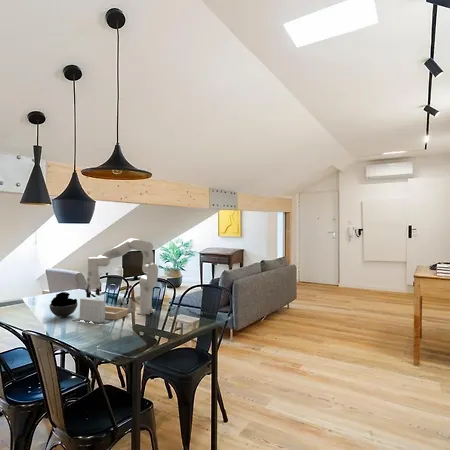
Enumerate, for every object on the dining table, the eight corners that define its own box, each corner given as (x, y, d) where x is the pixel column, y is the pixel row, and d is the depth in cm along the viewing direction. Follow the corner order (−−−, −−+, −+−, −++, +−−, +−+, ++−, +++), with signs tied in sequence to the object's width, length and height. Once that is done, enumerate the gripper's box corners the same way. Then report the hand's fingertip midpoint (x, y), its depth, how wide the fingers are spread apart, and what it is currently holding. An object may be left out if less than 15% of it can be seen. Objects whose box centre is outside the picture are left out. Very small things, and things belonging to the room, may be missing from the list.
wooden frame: (128, 314, 274) (129, 308, 274) (113, 320, 256) (114, 313, 257) (102, 311, 283) (102, 305, 283) (86, 316, 266) (86, 310, 266)
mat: (111, 321, 253) (111, 320, 253) (101, 325, 243) (101, 324, 243) (83, 317, 263) (83, 316, 263) (72, 320, 253) (72, 320, 253)
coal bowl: (71, 312, 278) (72, 289, 279) (81, 317, 264) (81, 293, 264) (45, 316, 264) (46, 292, 265) (54, 321, 250) (54, 296, 250)
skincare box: (105, 321, 252) (106, 300, 252) (100, 323, 247) (100, 301, 247) (84, 317, 260) (84, 297, 260) (78, 319, 255) (79, 298, 255)
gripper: (88, 275, 244) (88, 298, 244) (105, 272, 260) (105, 294, 260) (80, 274, 247) (80, 298, 247) (97, 271, 263) (97, 293, 263)
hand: (93, 296), depth 254 cm, fingers open, 9 cm apart
